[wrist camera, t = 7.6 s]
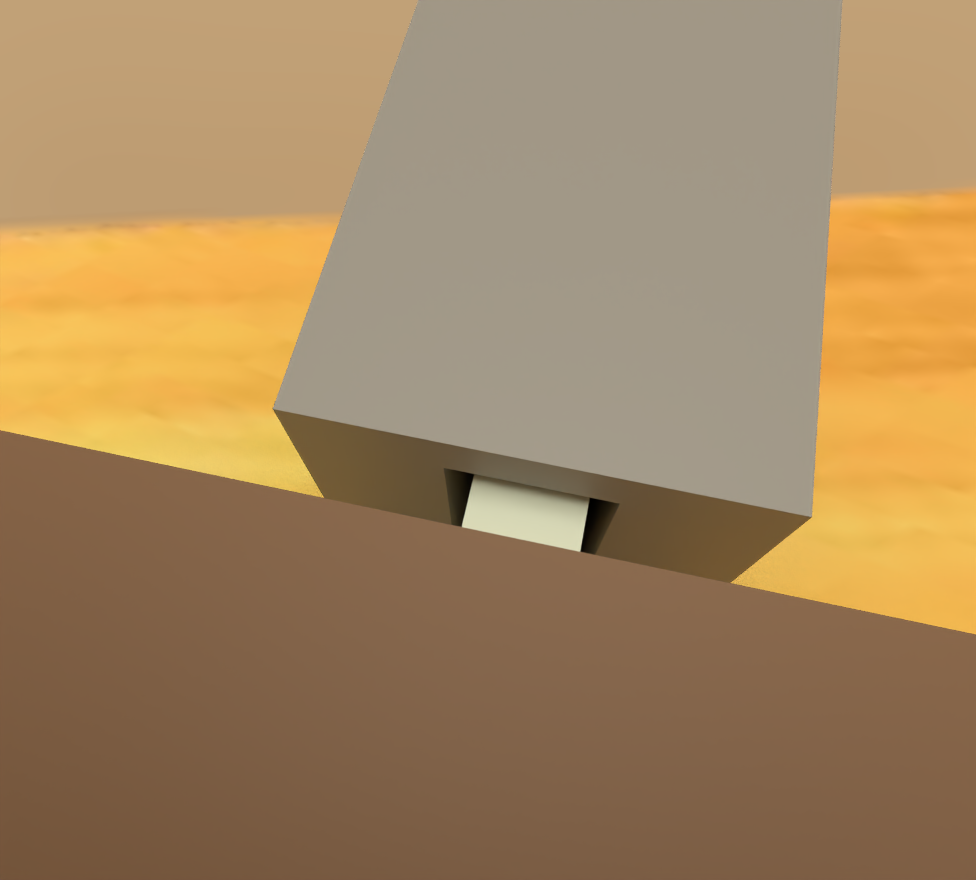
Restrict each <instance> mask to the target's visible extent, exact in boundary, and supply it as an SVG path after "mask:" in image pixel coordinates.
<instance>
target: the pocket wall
mask: <svg viewBox="0 0 976 880" xmlns="http://www.w3.org/2000/svg"><path fill="white" fill-rule="evenodd" d="M841 12H842V0H418V3H417V6H416V9H415V11H414V14H413V17H412V20H411V23H410V25H409V28H408V31H407V34H406V37H405V39H404V42H403V45H402V48H401V51H400V53H399V56H398V59H397V62H396V65H395V67H394V70H393V73H392V76H391V79H390V81H389V84H388V87H387V90H386V93H385V96H384V98H383V101H382V104H381V107H380V110H379V112H378V115H377V118H376V121H375V124H374V127H373V129H372V132H371V135H370V138H369V141H368V143H367V146H366V149H365V152H364V155H363V157H362V160H361V163H360V166H359V169H358V172H357V174H356V177H355V180H354V183H353V185H352V188H351V191H350V194H349V197H348V199H347V202H346V205H345V208H344V211H343V213H342V216H341V219H340V222H339V225H338V227H337V230H336V233H335V236H334V239H333V241H332V244H331V247H330V250H329V253H328V255H327V258H326V261H325V264H324V267H323V270H322V272H321V275H320V278H319V281H318V284H317V286H316V289H315V292H314V295H313V298H312V300H311V303H310V306H309V309H308V312H307V314H306V317H305V320H304V323H303V326H302V328H301V331H300V334H299V337H298V340H297V342H296V345H295V348H294V351H293V354H292V357H291V359H290V362H289V365H288V368H287V371H286V373H285V376H284V379H283V382H282V385H281V387H280V390H279V393H278V396H277V399H276V401H275V404H274V407H273V410H274V412H275V414H276V415H277V417H278V419H279V420H280V422H281V424H282V426H283V427H284V429H285V431H286V433H287V434H288V436H289V438H290V439H291V441H292V443H293V445H294V446H295V448H296V450H297V452H298V453H299V455H300V457H301V458H302V460H303V462H304V464H305V465H306V467H307V469H308V470H309V472H310V474H311V476H312V477H313V479H314V481H315V483H316V484H317V486H318V488H319V489H320V491H321V493H322V495H323V496H324V498H325V499H330V500H335V501H340V502H345V503H349V504H354V505H359V506H364V507H368V508H373V509H378V510H383V511H388V512H392V513H397V514H402V515H407V516H411V517H416V518H421V519H426V520H431V521H435V522H440V523H445V524H450V525H454V526H459V527H462V524H463V519H464V515H465V511H466V507H467V503H468V498H469V494H470V490H471V486H472V482H473V477H474V474H477V475H482V476H487V477H492V478H497V479H502V480H507V481H511V482H516V483H521V484H526V485H531V486H536V487H541V488H546V489H551V490H556V491H561V492H566V493H571V494H575V495H580V496H585V497H590V498H589V504H588V510H587V515H586V521H585V527H584V533H583V538H582V544H581V550H580V552H583V553H588V554H593V555H598V556H603V557H607V558H612V559H617V560H622V561H626V562H631V563H636V564H641V565H646V566H650V567H655V568H660V569H665V570H670V571H674V572H679V573H684V574H689V575H693V576H698V577H703V578H708V579H713V580H717V581H722V582H727V583H730V582H732V581H733V580H734V579H735V578H737V577H738V576H739V575H740V574H742V573H743V572H744V571H745V570H747V569H748V568H749V567H750V566H752V565H753V564H754V563H755V562H757V561H758V560H759V559H760V558H762V557H763V556H764V555H765V554H766V553H768V552H769V551H770V550H771V549H773V548H774V547H775V546H776V545H778V544H779V543H780V542H781V541H783V540H784V539H785V538H786V537H788V536H789V535H790V534H791V533H793V532H794V531H795V530H796V529H798V528H799V527H800V526H801V525H803V524H804V523H805V522H806V521H808V520H809V519H810V518H811V517H812V504H813V487H814V470H815V453H816V436H817V419H818V402H819V386H820V369H821V352H822V335H823V318H824V301H825V284H826V267H827V250H828V233H829V217H830V200H831V183H832V165H833V148H834V131H835V114H836V97H837V80H838V64H839V47H840V30H841Z"/></svg>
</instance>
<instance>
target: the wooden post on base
mask: <svg viewBox="0 0 976 880" xmlns="http://www.w3.org/2000/svg"><path fill="white" fill-rule="evenodd" d="M0 880H976V635H975V634H971V633H966V632H961V631H956V630H951V629H947V628H942V627H937V626H932V625H928V624H923V623H918V622H913V621H908V620H904V619H899V618H894V617H889V616H885V615H880V614H875V613H870V612H865V611H861V610H856V609H851V608H846V607H842V606H837V605H832V604H827V603H822V602H818V601H813V600H808V599H803V598H799V597H794V596H789V595H784V594H779V593H775V592H770V591H765V590H760V589H756V588H751V587H746V586H741V585H736V584H732V583H727V582H722V581H717V580H713V579H708V578H703V577H698V576H693V575H689V574H684V573H679V572H674V571H670V570H665V569H660V568H655V567H650V566H646V565H641V564H636V563H631V562H626V561H622V560H617V559H612V558H607V557H603V556H598V555H593V554H588V553H583V552H579V551H574V550H569V549H564V548H560V547H555V546H550V545H545V544H540V543H536V542H531V541H526V540H521V539H517V538H512V537H507V536H502V535H497V534H493V533H488V532H483V531H478V530H474V529H469V528H464V527H459V526H454V525H450V524H445V523H440V522H435V521H431V520H426V519H421V518H416V517H411V516H407V515H402V514H397V513H392V512H388V511H383V510H378V509H373V508H368V507H364V506H359V505H354V504H349V503H345V502H340V501H335V500H330V499H325V498H321V497H316V496H311V495H306V494H302V493H297V492H292V491H287V490H282V489H278V488H273V487H268V486H263V485H259V484H254V483H249V482H244V481H239V480H235V479H230V478H225V477H220V476H216V475H211V474H206V473H201V472H196V471H192V470H187V469H182V468H177V467H172V466H168V465H163V464H158V463H153V462H149V461H144V460H139V459H134V458H129V457H125V456H120V455H115V454H110V453H106V452H101V451H96V450H91V449H86V448H82V447H77V446H72V445H67V444H63V443H58V442H53V441H48V440H43V439H39V438H34V437H29V436H24V435H20V434H15V433H10V432H5V431H0Z"/></svg>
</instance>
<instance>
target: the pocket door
mask: <svg viewBox="0 0 976 880" xmlns="http://www.w3.org/2000/svg"><path fill="white" fill-rule="evenodd" d="M589 498H590V497H585V496H580V495H575V494H571V493H566V492H561V491H556V490H551V489H546V488H541V487H536V486H531V485H526V484H521V483H516V482H511V481H507V480H502V479H497V478H492V477H487V476H482V475H477V474H474V477H473V482H472V486H471V490H470V494H469V498H468V503H467V507H466V511H465V515H464V519H463V524H462V527H464V528H469V529H474V530H478V531H483V532H488V533H493V534H497V535H502V536H507V537H512V538H517V539H521V540H526V541H531V542H536V543H540V544H545V545H550V546H555V547H560V548H564V549H569V550H574V551H579V552H580V550H581V544H582V538H583V533H584V527H585V521H586V515H587V510H588V504H589Z"/></svg>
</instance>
